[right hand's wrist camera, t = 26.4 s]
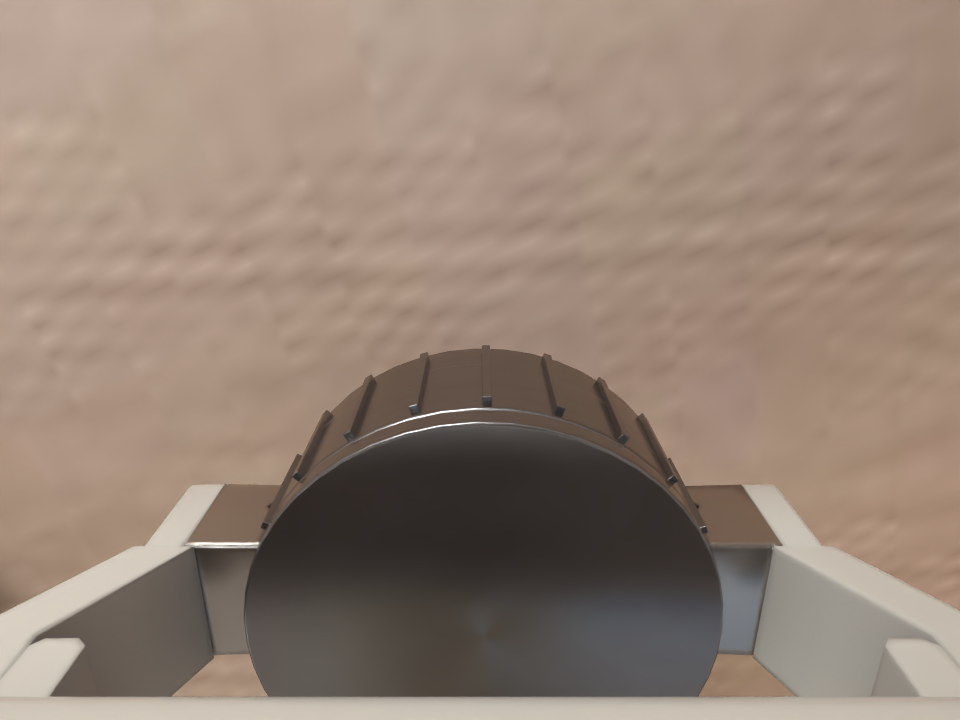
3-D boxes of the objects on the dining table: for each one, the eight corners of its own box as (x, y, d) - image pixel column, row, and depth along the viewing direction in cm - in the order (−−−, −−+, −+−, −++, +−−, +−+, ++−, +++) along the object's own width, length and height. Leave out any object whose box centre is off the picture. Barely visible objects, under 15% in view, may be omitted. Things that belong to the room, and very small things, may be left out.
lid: (554, 261, 9) (577, 314, 7) (740, 575, 11) (806, 696, 9) (206, 470, 10) (132, 572, 8) (429, 721, 12) (418, 861, 10)
